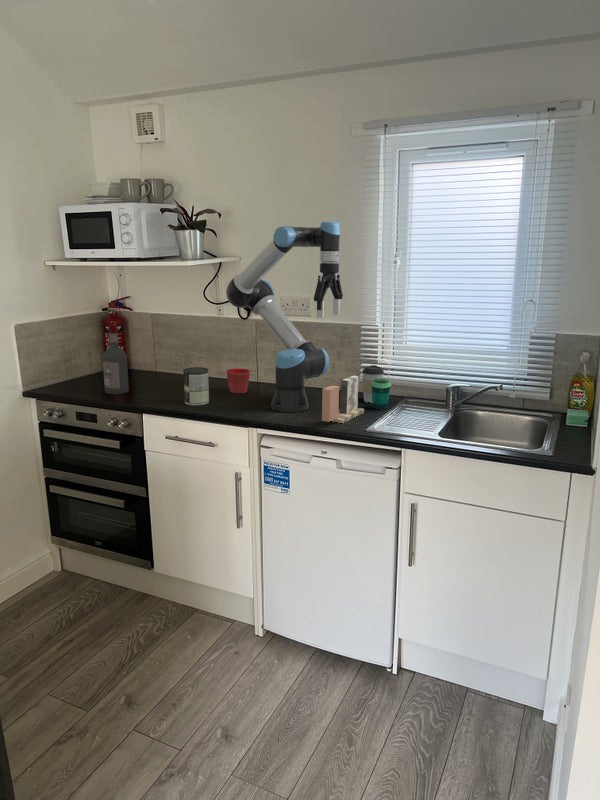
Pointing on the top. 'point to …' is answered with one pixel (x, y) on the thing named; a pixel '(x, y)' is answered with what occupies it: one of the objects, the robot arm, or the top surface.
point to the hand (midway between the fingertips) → (328, 316)
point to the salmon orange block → (330, 403)
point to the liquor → (115, 366)
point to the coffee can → (196, 386)
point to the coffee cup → (370, 380)
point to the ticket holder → (348, 400)
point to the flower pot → (238, 380)
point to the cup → (380, 393)
